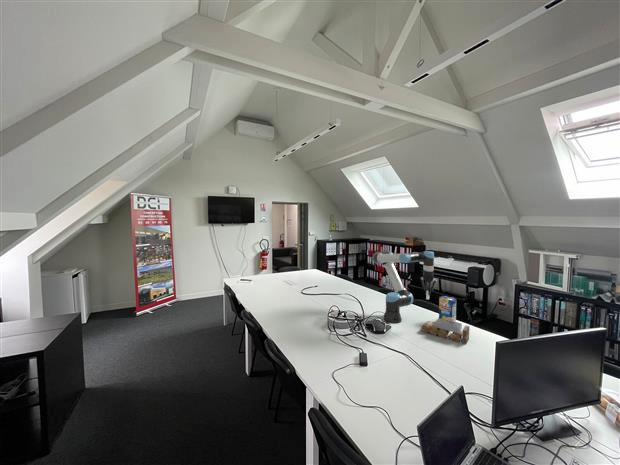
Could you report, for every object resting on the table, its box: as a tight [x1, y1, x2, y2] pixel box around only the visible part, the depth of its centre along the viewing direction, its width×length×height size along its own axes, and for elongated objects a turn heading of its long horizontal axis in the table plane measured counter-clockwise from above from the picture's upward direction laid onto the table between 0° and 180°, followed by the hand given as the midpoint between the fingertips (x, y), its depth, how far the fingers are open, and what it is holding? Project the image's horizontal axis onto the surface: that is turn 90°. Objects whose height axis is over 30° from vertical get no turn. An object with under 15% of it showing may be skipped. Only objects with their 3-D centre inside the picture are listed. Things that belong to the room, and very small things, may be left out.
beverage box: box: [438, 295, 457, 322], centre depth 213 cm, size 7×11×22 cm, turn 36°
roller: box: [450, 329, 463, 343], centre depth 186 cm, size 11×6×6 cm
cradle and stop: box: [446, 325, 470, 345], centre depth 185 cm, size 12×10×10 cm
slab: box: [434, 317, 463, 333], centre depth 190 cm, size 16×10×4 cm, turn 48°
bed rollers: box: [421, 320, 451, 339], centre depth 196 cm, size 11×18×6 cm, turn 48°
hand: (427, 298), depth 204 cm, fingers closed
